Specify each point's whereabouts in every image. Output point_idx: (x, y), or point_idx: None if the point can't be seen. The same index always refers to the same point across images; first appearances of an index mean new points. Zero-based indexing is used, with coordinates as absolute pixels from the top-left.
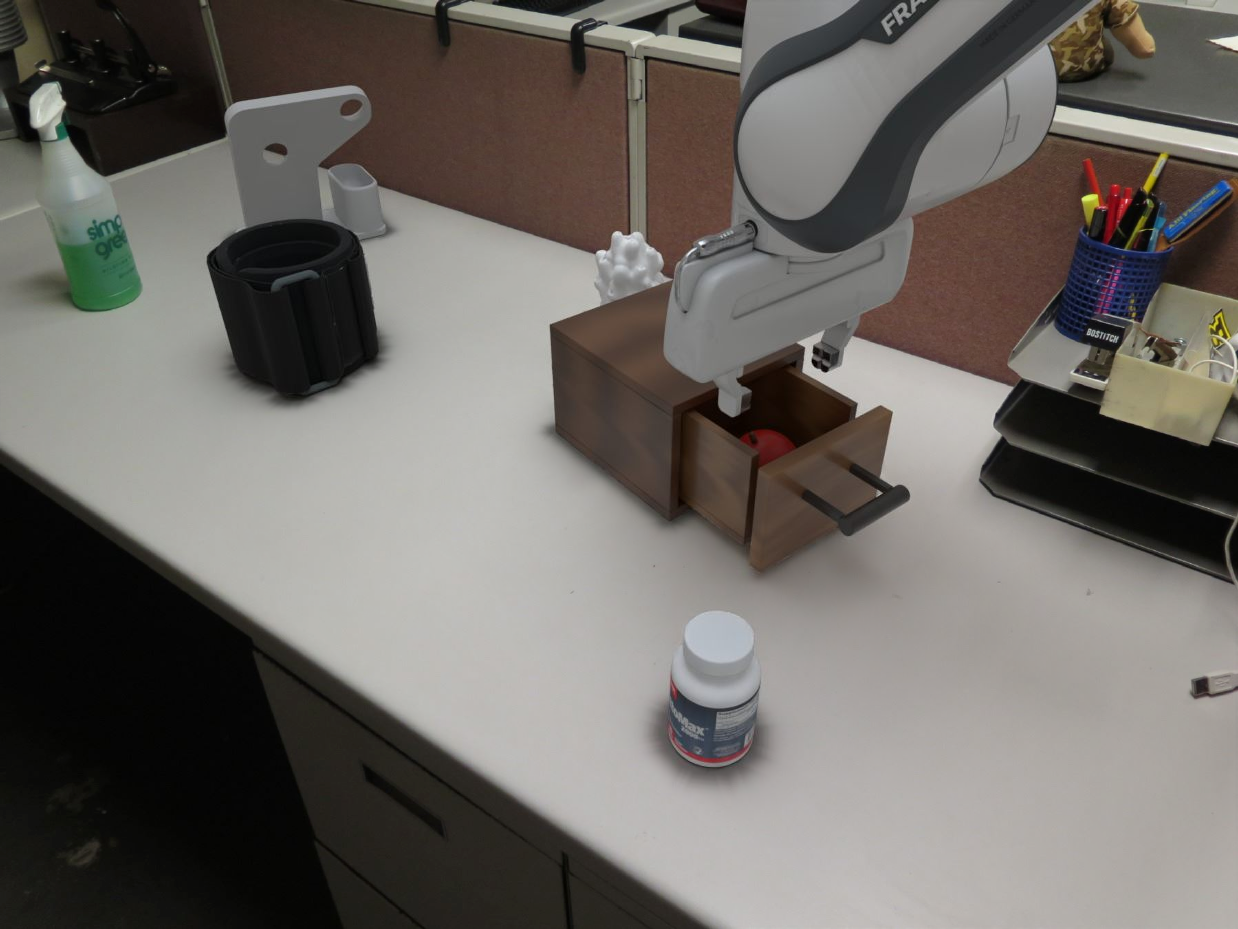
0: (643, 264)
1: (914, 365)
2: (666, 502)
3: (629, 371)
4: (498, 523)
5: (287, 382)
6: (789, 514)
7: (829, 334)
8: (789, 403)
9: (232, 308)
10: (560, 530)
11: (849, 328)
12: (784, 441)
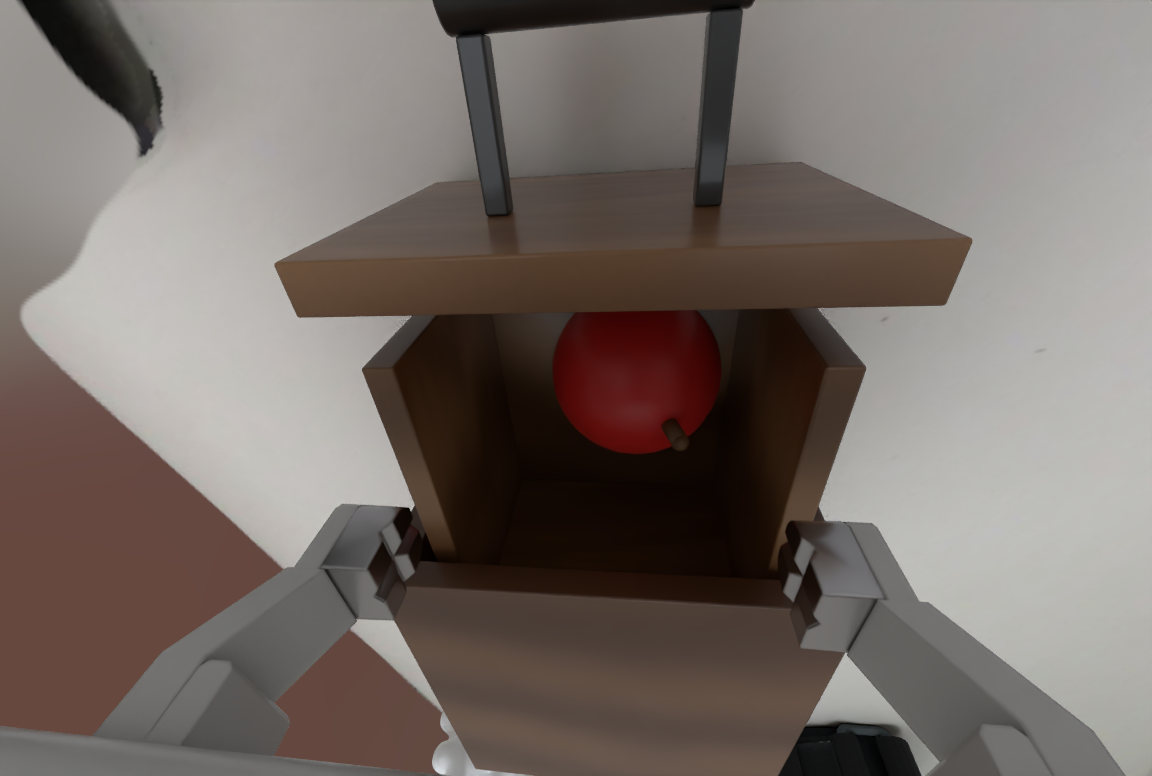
0: (476, 770)
1: (154, 428)
2: None
3: (797, 706)
4: (948, 511)
5: (911, 757)
6: (756, 191)
7: (315, 637)
8: (476, 469)
9: None
10: (904, 458)
11: (221, 651)
12: (603, 386)
